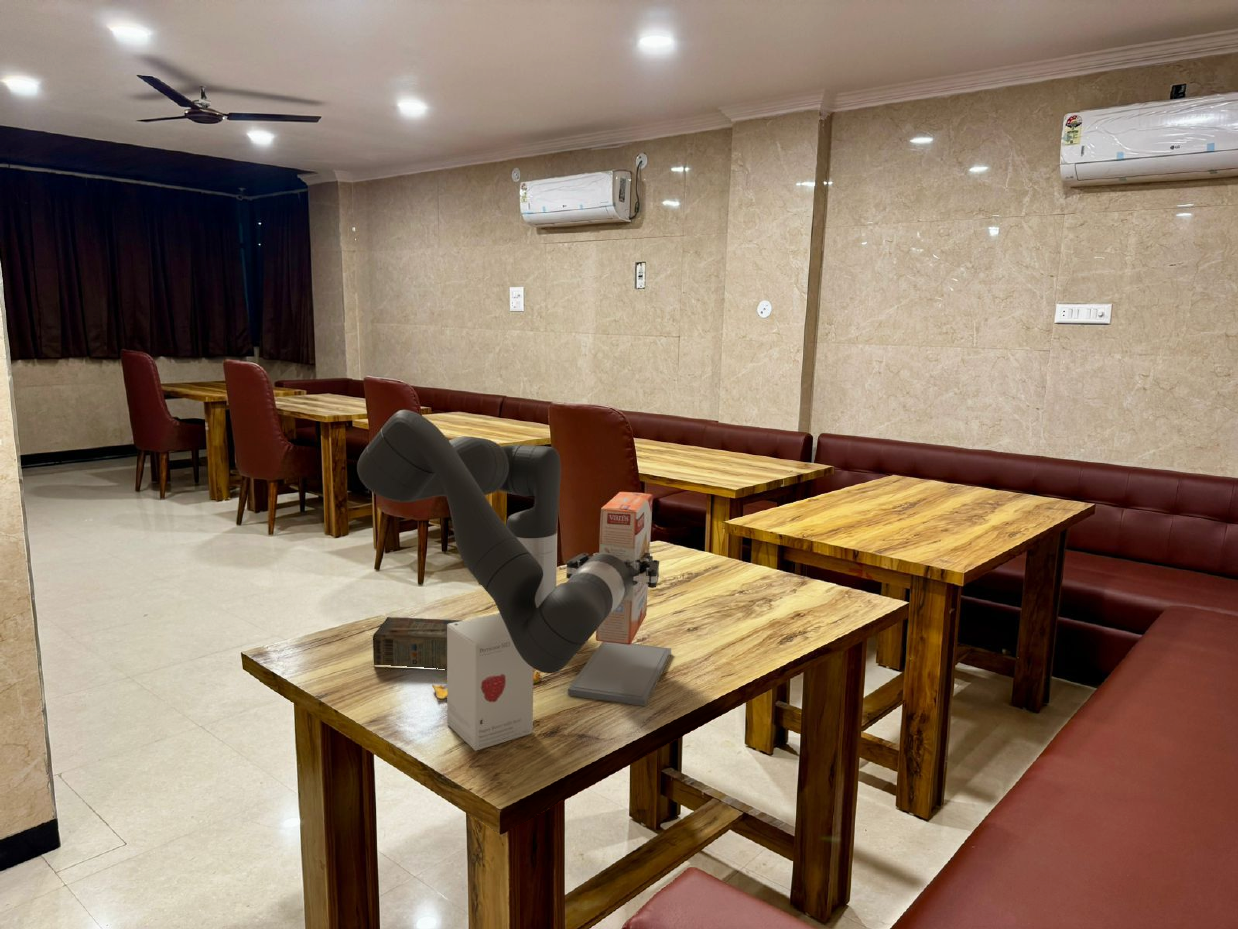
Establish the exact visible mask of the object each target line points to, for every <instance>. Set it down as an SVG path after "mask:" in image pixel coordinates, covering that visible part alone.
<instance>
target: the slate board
mask: <svg viewBox="0 0 1238 929" xmlns="http://www.w3.org/2000/svg"><path fill="white" fill-rule="evenodd" d="M671 654H672V648H671V647H665V646H664V647H663V646H655V645H646V644H639V643H638V644H637V643H631V645H626V644H619V643H610V642H602V641H601V643H600V644H599V645H598V647H597V648H596V650H595V651H594V653H593V654H592V656H591V657H590V658H589V660H588V661H587V662H586V664H585V665H584V666H583V667H582V669H581V670H580V672H579V673H578V675H577V676H576V677H575V679H574V680H573V682H572V683H570V686H569V687H568V688H567V696H570V697H571V696H572V697H579V698H583V699H585V698H586V699H593V700H600V701H605V702H613V703H621V704H628V705H634V706H635V705H636V706H641V707H646V706H647V704H648V701H649V700H650V698H651V696H652V694H653V691H654V690H655V688H656V686H657V683H658V681H659V679H660V677H661V676H662V673H663V671H664V669H665V667H666V665H667V663H668V661H669V659H670V656H671Z"/></svg>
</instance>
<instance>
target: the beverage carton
mask: <svg viewBox="0 0 1238 929" xmlns="http://www.w3.org/2000/svg"><path fill="white" fill-rule="evenodd" d="M459 621H463V620H458V619H456V620H455V619H441V618H418V617H417V618H416V617H398V616H397V617H396V616H395V617H391V616H387V617H386V618H385V619H384V621H383V622H382V623H381V625H379V627H378V629H377V630H376V631H375V632H374V633H373V635H372V651H373V652H372V653H373V666H374V665H391V666H407V667H424V668H436V669H437V668H438V669H445V670H444V671H447V624H449V623H454V622H459Z"/></svg>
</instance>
